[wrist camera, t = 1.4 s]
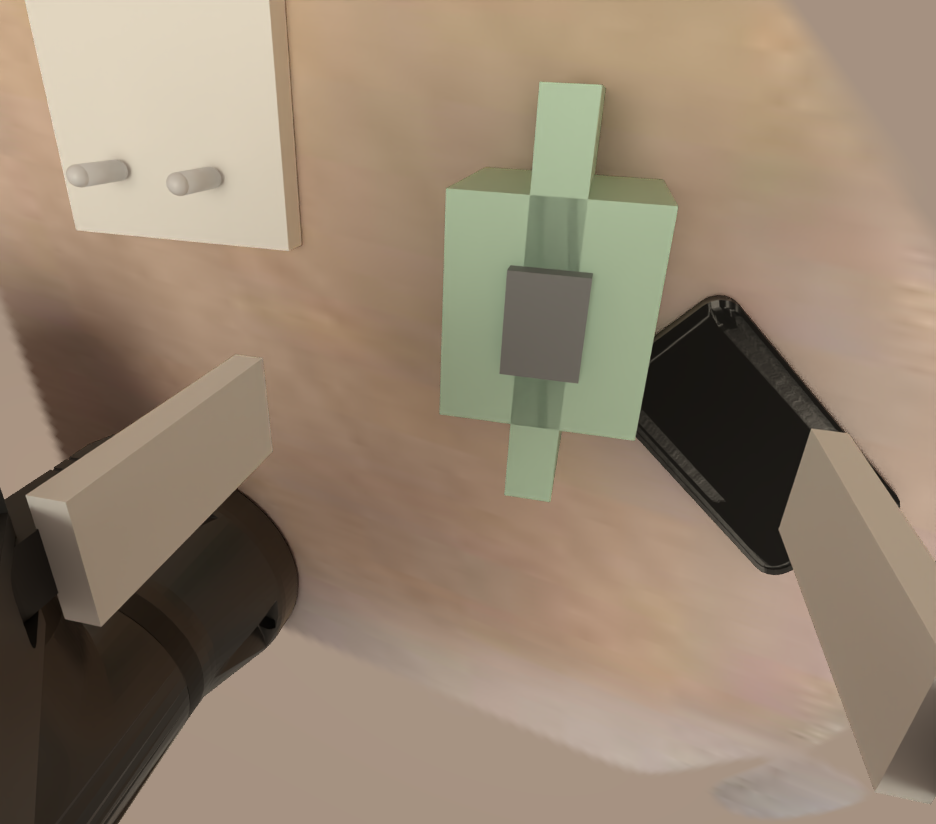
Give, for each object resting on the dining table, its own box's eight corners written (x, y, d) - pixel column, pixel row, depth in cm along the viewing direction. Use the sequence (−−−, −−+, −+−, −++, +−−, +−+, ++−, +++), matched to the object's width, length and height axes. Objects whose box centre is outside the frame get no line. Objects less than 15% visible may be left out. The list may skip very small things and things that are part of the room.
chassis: (301, 244, 33) (253, 267, 29) (96, 225, 35) (21, 243, 31) (267, -255, 25) (191, -331, 20) (-2, -244, 27) (-124, -312, 22)
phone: (725, 289, 29) (910, 511, 32) (721, 282, 30) (901, 499, 33) (590, 390, 33) (767, 582, 35) (590, 381, 34) (763, 569, 36)
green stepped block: (620, 427, 34) (621, 524, 26) (472, 407, 35) (432, 494, 28) (678, 91, 27) (703, 88, 19) (490, 82, 28) (443, 76, 20)
